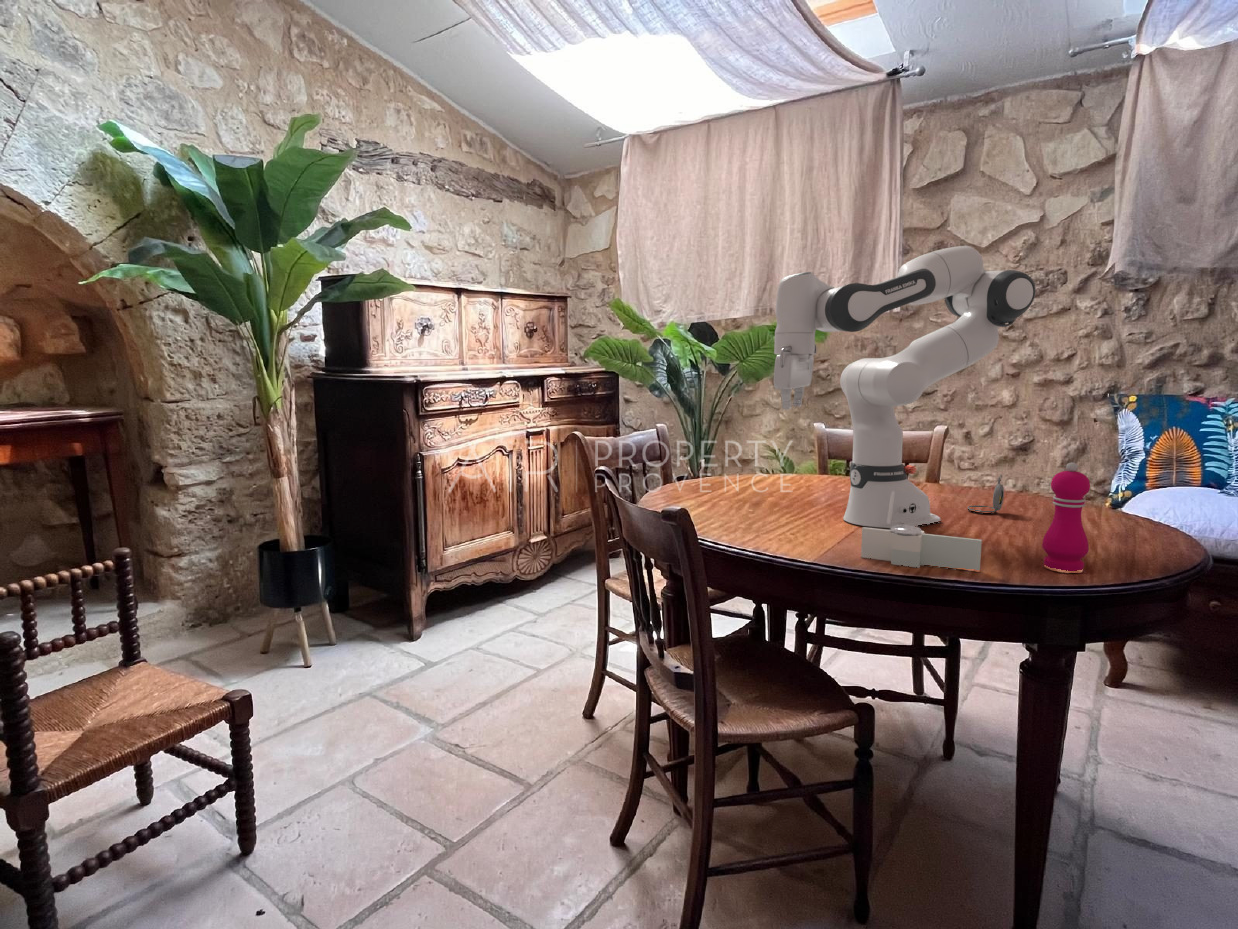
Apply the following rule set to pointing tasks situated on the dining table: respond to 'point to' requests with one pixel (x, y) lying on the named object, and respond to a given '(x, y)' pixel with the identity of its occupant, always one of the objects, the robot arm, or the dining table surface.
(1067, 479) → the pepper mill
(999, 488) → the pocket watch
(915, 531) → the hinge pin
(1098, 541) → the dining table surface
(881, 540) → the hinge
